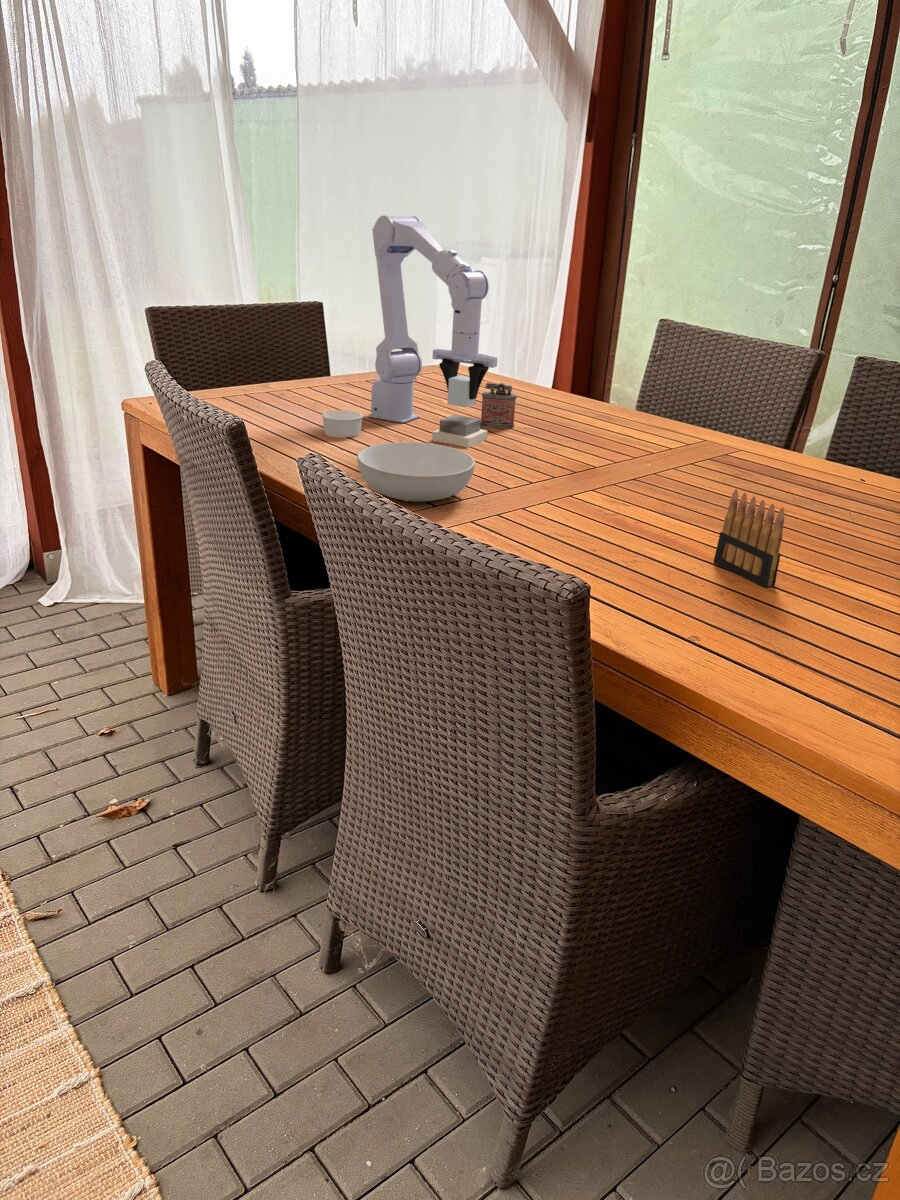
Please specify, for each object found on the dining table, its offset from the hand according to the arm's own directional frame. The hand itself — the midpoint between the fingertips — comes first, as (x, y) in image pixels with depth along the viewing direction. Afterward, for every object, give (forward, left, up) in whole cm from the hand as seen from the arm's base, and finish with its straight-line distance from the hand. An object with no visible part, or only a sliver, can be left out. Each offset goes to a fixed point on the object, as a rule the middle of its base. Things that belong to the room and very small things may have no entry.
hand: (462, 397), depth 192 cm
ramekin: (-23, -12, -10) cm, 28 cm away
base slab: (0, 0, -10) cm, 10 cm away
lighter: (+1, +17, -10) cm, 20 cm away
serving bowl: (+11, -39, -10) cm, 41 cm away
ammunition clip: (+70, -42, -10) cm, 82 cm away
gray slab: (0, 0, -8) cm, 8 cm away
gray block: (0, 0, -2) cm, 2 cm away
